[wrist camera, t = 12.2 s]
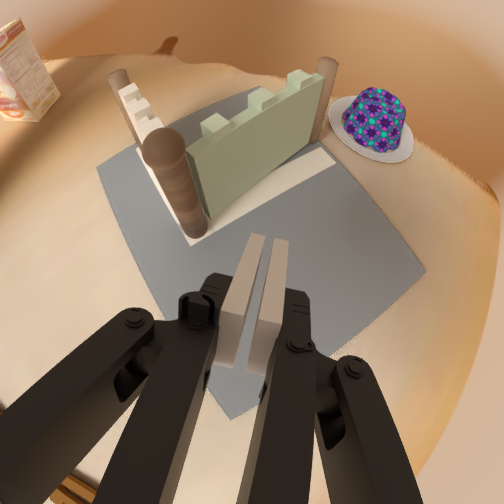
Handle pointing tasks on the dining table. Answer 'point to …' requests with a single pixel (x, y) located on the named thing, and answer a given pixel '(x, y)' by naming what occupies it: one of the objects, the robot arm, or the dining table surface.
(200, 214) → the hinge post
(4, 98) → the coffeecake box
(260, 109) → the panel
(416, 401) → the dining table surface
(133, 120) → the fixed panel
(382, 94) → the pudding
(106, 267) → the dining table surface
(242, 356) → the card
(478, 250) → the dining table surface
